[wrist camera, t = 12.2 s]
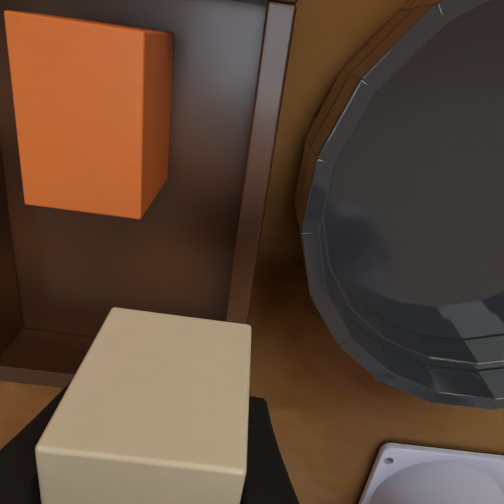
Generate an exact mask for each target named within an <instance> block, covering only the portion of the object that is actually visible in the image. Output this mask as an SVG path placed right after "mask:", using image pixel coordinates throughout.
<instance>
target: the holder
mask: <svg viewBox="0 0 504 504" xmlns="http://www.w3.org/2000/svg"><path fill="white" fill-rule="evenodd" d="M297 1H298V0H0V380H1V381H10V382H19V383H27V384H36V385H44V386H53V387H62V388H65V387H66V386H67V385H68V384H69V382H70V381H71V380H72V379H73V378H74V376H75V374H76V372H77V371H78V369H79V367H80V365H81V363H82V361H83V360H84V358H85V356H86V354H87V352H88V351H89V349H90V347H91V345H92V343H93V341H94V340H95V338H96V336H97V334H98V332H99V331H100V329H101V327H102V325H103V323H104V322H105V320H106V318H107V316H108V314H109V312H110V311H111V309H112V308H114V307H117V308H125V309H132V310H140V311H148V312H155V313H163V314H171V315H178V316H186V317H194V318H202V319H209V320H217V321H225V322H232V323H240V324H246V323H247V317H248V311H249V304H250V298H251V292H252V285H253V279H254V273H255V266H256V260H257V254H258V248H259V241H260V235H261V229H262V222H263V216H264V210H265V203H266V197H267V191H268V185H269V178H270V172H271V166H272V159H273V153H274V147H275V140H276V134H277V128H278V122H279V115H280V109H281V103H282V96H283V90H284V84H285V77H286V71H287V65H288V59H289V52H290V46H291V40H292V33H293V27H294V21H295V14H296V5H295V4H296V3H297ZM6 10H9V11H19V12H28V13H38V14H47V15H57V16H66V17H74V18H81V19H88V20H94V21H101V22H108V23H114V24H121V25H127V26H134V27H141V28H147V29H154V30H160V31H167V32H172V33H174V51H173V72H172V93H171V114H170V134H169V155H168V176H167V180H166V182H165V183H164V185H163V186H162V188H161V189H160V191H159V192H158V194H157V195H156V197H155V198H154V200H153V201H152V203H151V204H150V206H149V207H148V209H147V210H146V212H145V213H144V215H143V216H142V218H141V219H132V218H125V217H117V216H110V215H102V214H95V213H87V212H80V211H72V210H64V209H57V208H49V207H42V206H34V205H27V204H25V202H24V193H23V183H22V174H21V165H20V156H19V147H18V138H17V129H16V119H15V110H14V101H13V92H12V83H11V74H10V65H9V55H8V46H7V37H6V28H5V19H4V11H6Z"/></svg>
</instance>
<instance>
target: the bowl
mask: <svg viewBox="0 0 504 504" xmlns="http://www.w3.org/2000/svg"><path fill="white" fill-rule="evenodd" d="M294 199H295V209H296V216H297V223H298V230H299V237H300V243H301V250H302V256H303V262H304V267H305V273H306V279H307V284H308V290H309V295H310V297H311V299H312V301H313V303H314V305H315V306H316V308H317V310H318V312H319V313H320V315H321V317H322V319H323V321H324V322H325V324H326V326H327V328H328V329H329V331H330V333H331V335H332V337H333V338H334V340H335V342H336V344H337V345H338V346H339V347H340V348H341V349H342V350H343V351H345V352H346V353H347V354H348V355H349V356H350V357H352V358H353V359H354V360H355V361H356V362H358V363H359V364H360V365H361V366H362V367H363V368H365V369H366V370H367V371H368V372H369V373H371V374H372V375H373V376H374V377H375V378H377V379H378V380H379V381H380V382H382V383H384V384H387V385H389V386H392V387H394V388H396V389H399V390H401V391H404V392H406V393H409V394H411V395H414V396H416V397H419V398H421V399H424V400H426V401H429V402H431V403H437V404H446V405H454V406H463V407H471V408H480V409H488V410H492V409H493V410H496V409H504V0H417V1H415V2H413V3H412V4H410V5H408V6H406V7H404V8H403V9H401V10H400V12H398V13H397V14H396V15H395V16H394V17H393V18H392V19H391V20H390V21H389V22H388V23H387V24H386V25H385V26H384V27H383V28H382V29H381V30H380V31H379V32H378V33H377V34H376V35H375V36H374V37H373V38H372V39H371V40H370V41H369V42H368V43H367V44H366V45H365V46H364V48H363V49H362V50H361V51H360V52H359V53H358V54H357V55H356V56H355V57H354V58H353V59H352V60H351V61H350V62H349V63H348V64H347V65H346V66H345V67H344V68H343V71H341V72H340V73H339V75H338V77H337V79H336V81H335V83H334V85H333V87H332V88H331V90H330V92H329V94H328V96H327V98H326V100H325V102H324V104H323V105H322V107H321V109H320V111H319V113H318V115H317V117H316V119H315V120H314V122H313V124H312V126H311V128H310V130H309V132H308V134H307V137H306V139H305V145H304V150H303V155H302V161H301V166H300V171H299V176H298V182H297V187H296V192H295V197H294Z"/></svg>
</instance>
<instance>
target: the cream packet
mask: <svg viewBox="0 0 504 504" xmlns="http://www.w3.org/2000/svg"><path fill="white" fill-rule="evenodd" d="M250 358H251V326H250V325H248V324H240V323H232V322H225V321H217V320H209V319H202V318H194V317H186V316H178V315H171V314H163V313H155V312H148V311H140V310H132V309H125V308H117V307H114V308H112V309H111V311H110V312H109V314H108V316H107V318H106V320H105V322H104V323H103V325H102V327H101V329H100V331H99V332H98V334H97V336H96V338H95V340H94V341H93V343H92V345H91V347H90V349H89V351H88V352H87V354H86V356H85V358H84V360H83V361H82V363H81V365H80V367H79V369H78V371H77V372H76V374H75V376H74V378H73V380H72V381H71V383H70V385H69V387H68V389H67V390H66V392H65V394H64V396H63V398H62V400H61V401H60V403H59V405H58V407H57V409H56V410H55V412H54V414H53V416H52V418H51V420H50V421H49V423H48V425H47V427H46V429H45V430H44V432H43V434H42V436H41V438H40V439H39V441H38V443H37V445H36V447H35V456H36V464H37V472H38V480H39V488H40V496H41V504H240V500H241V495H242V491H243V486H244V481H245V476H246V471H247V443H248V414H249V386H250Z"/></svg>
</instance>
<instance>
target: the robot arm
mask: <svg viewBox="0 0 504 504" xmlns="http://www.w3.org/2000/svg"><path fill="white" fill-rule="evenodd" d="M72 380H73V379H72ZM72 380H71V381H72ZM71 381H70V382H69V384H68V385H67V386H66V387H65V388H64V389H63V390H62V391H61V392H60V393H59V394H58V395H57V396H56V397H55V398H54V399H53V400H52V401H51V402H50V403H49V404H48V405H47V406H46V407H45V408H44V409H43V410H42V411H41V412H40V413H39V414H38V415H37V416H36V417H35V418H34V419H33V420H32V421H31V422H30V423H29V424H28V425H27V426H26V427H25V428H23V429H22V430H21V431H20V432H19V433H18V434H17V435H16V436H15V437H14V438H13V439H12V440H11V441H10V442H9V443H8V444H6V445H5V446H4V447H3V448H2V449H1V450H0V504H41V496H40V488H39V480H38V472H37V464H36V456H35V447H36V445H37V443H38V441H39V439H40V438H41V436H42V434H43V432H44V430H45V429H46V427H47V425H48V423H49V421H50V420H51V418H52V416H53V414H54V412H55V410H56V409H57V407H58V405H59V403H60V401H61V400H62V398H63V396H64V394H65V392H66V390H67V389H68V387H69V385H70V383H71ZM240 504H299V501H298V499H297V496H296V494H295V492H294V489H293V487H292V484H291V481H290V479H289V476H288V473H287V471H286V468H285V465H284V462H283V460H282V457H281V454H280V451H279V448H278V445H277V441H276V438H275V435H274V432H273V428H272V424H271V420H270V416H269V412H268V407H267V402H266V401H265V400H264V399H263V398H258V397H250V396H249V414H248V443H247V471H246V476H245V481H244V486H243V491H242V495H241V500H240ZM358 504H504V455H495V454H486V453H478V452H469V451H460V450H451V449H443V448H434V447H425V446H416V445H408V444H399V443H386V444H384V445H382V446H381V448H380V450H379V453H378V455H377V458H376V460H375V463H374V465H373V468H372V470H371V473H370V475H369V478H368V480H367V483H366V486H365V488H364V491H363V493H362V496H361V498H360V501H359V503H358Z"/></svg>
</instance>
